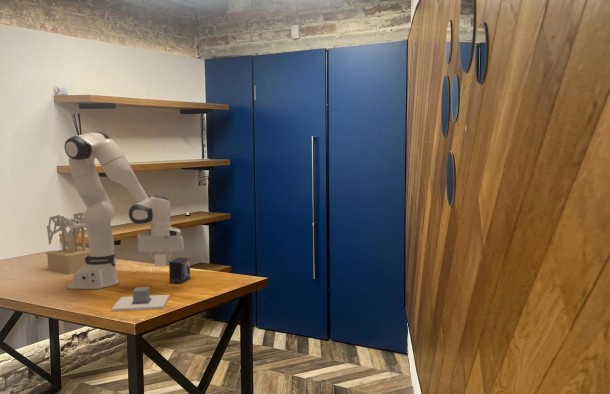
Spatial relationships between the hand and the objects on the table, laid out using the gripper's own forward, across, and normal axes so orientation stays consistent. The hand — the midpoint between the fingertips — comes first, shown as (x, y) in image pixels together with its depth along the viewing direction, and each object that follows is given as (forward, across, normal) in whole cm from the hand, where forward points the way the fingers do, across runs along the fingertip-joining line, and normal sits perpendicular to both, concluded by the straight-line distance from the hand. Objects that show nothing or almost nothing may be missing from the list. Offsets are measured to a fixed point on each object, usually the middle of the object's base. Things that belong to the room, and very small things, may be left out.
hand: (161, 261), depth 225 cm
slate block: (+12, -4, -22) cm, 25 cm away
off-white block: (+2, 0, 0) cm, 2 cm away
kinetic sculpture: (+14, -54, +48) cm, 74 cm away
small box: (+13, +7, +13) cm, 19 cm away
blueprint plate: (+13, -4, -22) cm, 26 cm away
